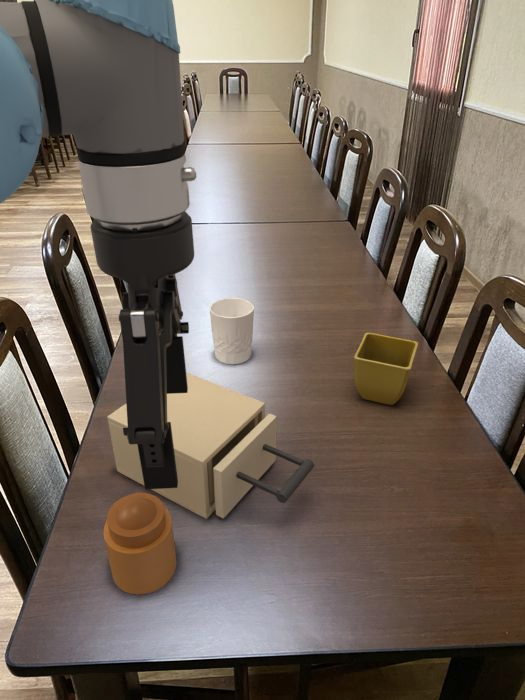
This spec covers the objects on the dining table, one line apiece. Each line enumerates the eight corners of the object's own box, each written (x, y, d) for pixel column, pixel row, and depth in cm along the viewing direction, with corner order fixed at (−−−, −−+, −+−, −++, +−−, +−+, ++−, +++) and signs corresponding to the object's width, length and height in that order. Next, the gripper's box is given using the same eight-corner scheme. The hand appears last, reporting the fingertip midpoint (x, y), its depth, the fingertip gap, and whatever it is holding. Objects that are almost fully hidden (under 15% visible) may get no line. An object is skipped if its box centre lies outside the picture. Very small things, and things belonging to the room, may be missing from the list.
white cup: (244, 370, 96) (243, 320, 91) (204, 361, 99) (201, 313, 93) (260, 349, 103) (260, 301, 97) (222, 341, 105) (220, 294, 100)
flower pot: (402, 416, 85) (410, 368, 80) (348, 403, 88) (353, 357, 83) (410, 386, 92) (418, 341, 87) (360, 376, 95) (365, 331, 90)
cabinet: (264, 456, 77) (265, 402, 72) (206, 519, 67) (202, 462, 62) (180, 419, 84) (175, 368, 79) (116, 471, 74) (106, 416, 69)
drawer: (321, 480, 72) (325, 435, 68) (273, 545, 63) (274, 497, 59) (194, 424, 82) (191, 382, 78) (136, 473, 73) (129, 428, 69)
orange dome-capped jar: (146, 606, 57) (135, 543, 52) (98, 574, 60) (83, 512, 55) (189, 558, 62) (183, 496, 57) (143, 531, 65) (133, 470, 60)
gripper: (178, 281, 30) (203, 537, 41) (198, 173, 51) (211, 361, 62) (40, 286, 29) (103, 543, 41) (118, 175, 51) (146, 363, 62)
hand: (169, 433), depth 51 cm, fingers open, 13 cm apart
